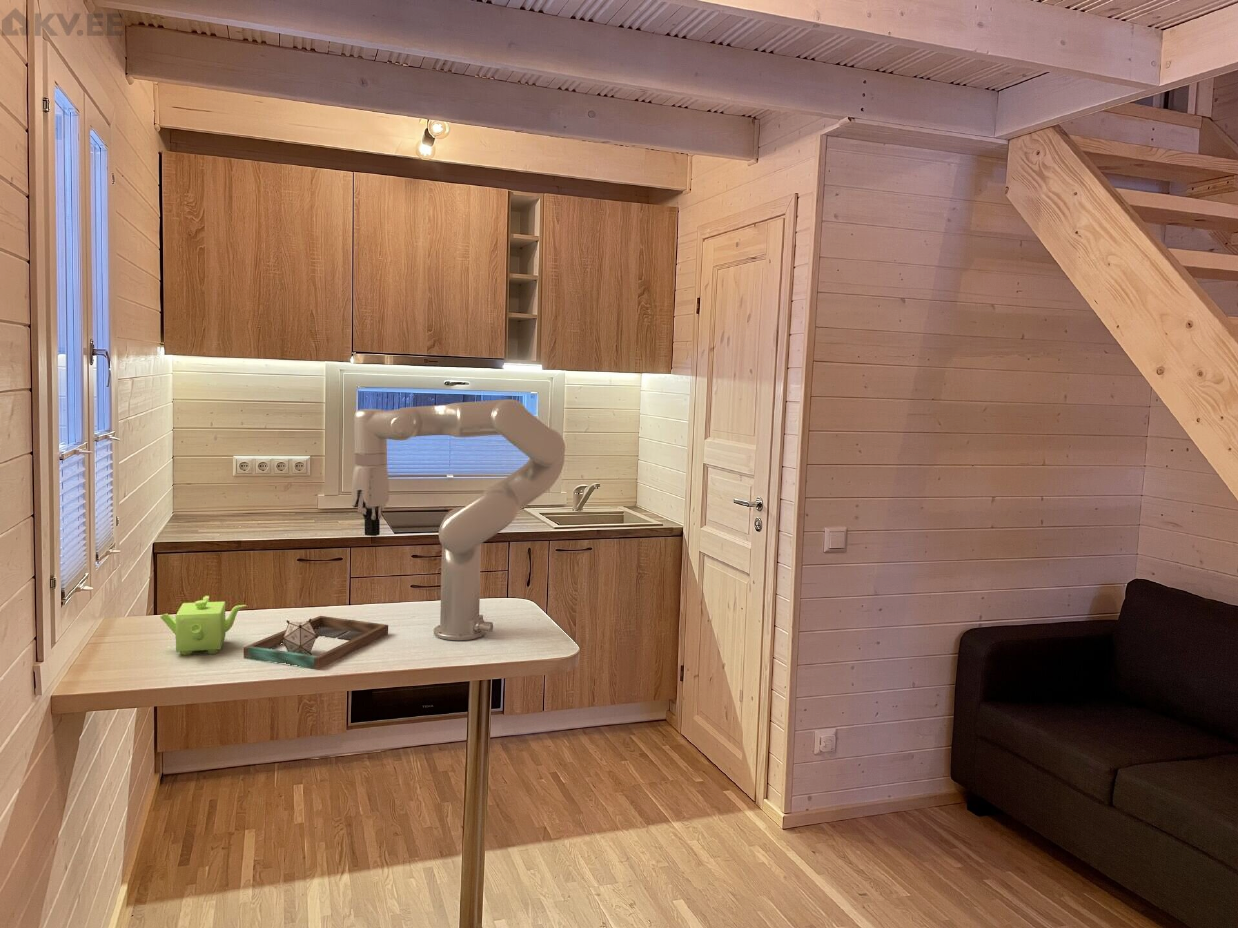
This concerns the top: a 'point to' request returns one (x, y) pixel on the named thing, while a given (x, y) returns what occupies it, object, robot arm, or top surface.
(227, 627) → the kettle
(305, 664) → the shallow open wooden box
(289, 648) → the game die
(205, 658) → the top surface
